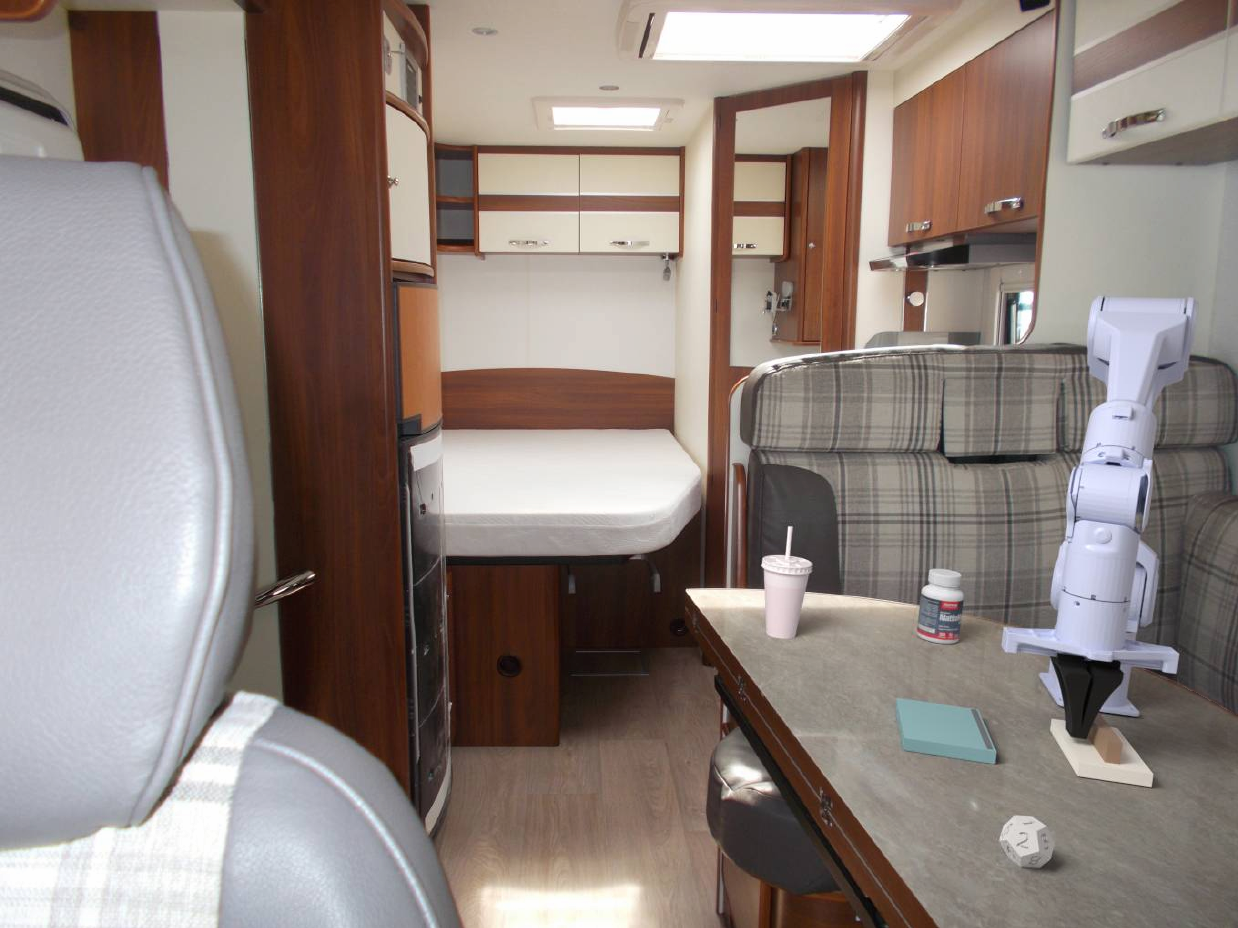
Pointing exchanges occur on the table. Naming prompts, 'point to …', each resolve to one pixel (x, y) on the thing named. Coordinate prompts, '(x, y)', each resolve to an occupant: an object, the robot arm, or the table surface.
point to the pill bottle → (941, 607)
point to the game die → (1027, 841)
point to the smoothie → (784, 591)
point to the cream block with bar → (1102, 754)
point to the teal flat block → (944, 731)
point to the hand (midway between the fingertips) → (1075, 733)
